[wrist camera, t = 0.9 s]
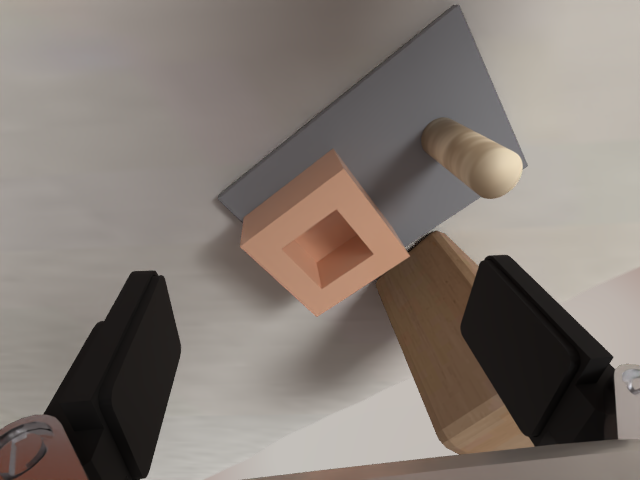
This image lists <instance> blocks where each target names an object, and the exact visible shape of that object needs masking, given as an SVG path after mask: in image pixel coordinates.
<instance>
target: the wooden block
mask: <svg viewBox="0 0 640 480" xmlns="http://www.w3.org/2000/svg"><path fill="white" fill-rule="evenodd" d="M408 254H409V255H410V257H408V258H407V259H405V260H404V261H402V262H401V263H399V264H398V265H396V266H395V267H393V268H391V269H390V270H388V271H387V272H385V273H384V274H383V275H382V276H381V277H380V278H379V279H378V280H377V282H376V287H377V290H378V292H379V295H380V297H381V300H382V302H383V305H384V307H385V309H386V312H387V314H388V317H389V319H390V322H391V324H392V327H393V329H394V331H395V334H396V336H397V339H398V341H399V344H400V346H401V349H402V351H403V353H404V356H405V358H406V361H407V363H408V366H409V368H410V371H411V373H412V376H413V378H414V380H415V383H416V385H417V388H418V390H419V393H420V395H421V397H422V400H423V402H424V405H425V407H426V410H427V412H428V415H429V417H430V419H431V422H432V424H433V427H434V429H435V432H436V434H437V436H438V438H439V440H440V441H441V442H442V444H443V445H444V446H445V447H446V448H448V449H450V450H452V451H454V452H455V453H457V454H459V455H462V454H471V453H480V452H490V451H499V450H508V449H518V448H527V447H535V446H534V445H533V443H532V441H531V440H530V438H529V437H527V436H525V435H524V434H523V433H522V432H521V431H520V429H519V428H518V426H517V424H516V423H515V421H514V419H513V418H512V416H511V415H510V413H509V411H508V410H507V408H506V406H505V405H504V403H503V402H502V400H501V398H500V397H499V395H498V393H497V392H496V390H495V389H494V387H493V385H492V384H491V382H490V380H489V379H488V377H487V376H486V374H485V372H484V371H483V369H482V367H481V366H480V364H479V363H478V361H477V359H476V358H475V356H474V354H473V353H472V351H471V350H470V348H469V346H468V345H467V343H466V341H465V340H464V338H463V336H462V334H461V330H460V325H461V321H462V318H463V315H464V312H465V309H466V305H467V302H468V299H469V296H470V293H471V289H472V286H473V283H474V280H475V277H476V273H477V270H478V267H479V266H478V265H477V264H476V263H475V262H474V261H473V260H472V259H470V258H469V257H468V256H467V255H466V254H465V253H464V252H463V251H462V250H461V249H460V248H459V247H458V246H457V245H456V244H455V243H454V242H453V241H452V240H451V239H450V238H449V237H448V236H447V235H446V234H445V233H441V232H438V231H434V232H432V233H430V234H429V235H428V236H427V237H426V238H425V239H423V240H422V241H421V242H420V243H419V244H418V245H417V246H415V247H414V248H413V249H412V250H411V251H410V252H408Z"/></svg>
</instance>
